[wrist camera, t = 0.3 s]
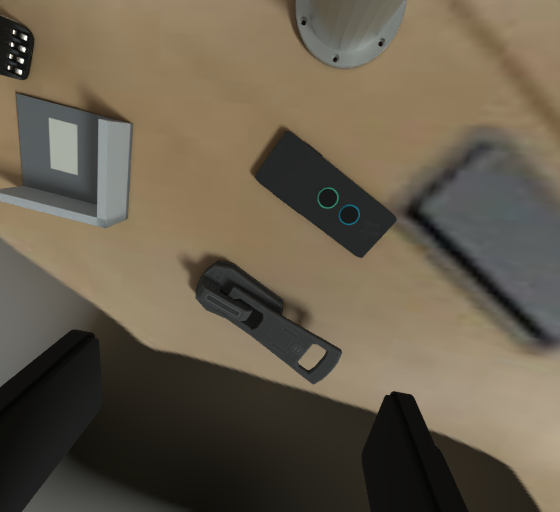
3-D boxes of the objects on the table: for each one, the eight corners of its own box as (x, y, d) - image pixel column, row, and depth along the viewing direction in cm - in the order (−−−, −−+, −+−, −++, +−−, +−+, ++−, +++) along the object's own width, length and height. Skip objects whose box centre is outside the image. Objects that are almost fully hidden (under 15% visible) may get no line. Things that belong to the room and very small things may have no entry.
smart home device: (360, 260, 45) (252, 179, 41) (358, 256, 46) (254, 178, 43) (399, 218, 42) (288, 127, 39) (396, 215, 44) (288, 128, 40)
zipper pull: (315, 390, 48) (177, 314, 44) (313, 361, 54) (192, 293, 50) (348, 353, 44) (203, 269, 41) (343, 327, 51) (216, 252, 47)
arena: (20, 94, 41) (-22, 86, 36) (132, 123, 41) (108, 121, 36) (27, 192, 46) (-8, 199, 41) (127, 218, 46) (105, 228, 41)
